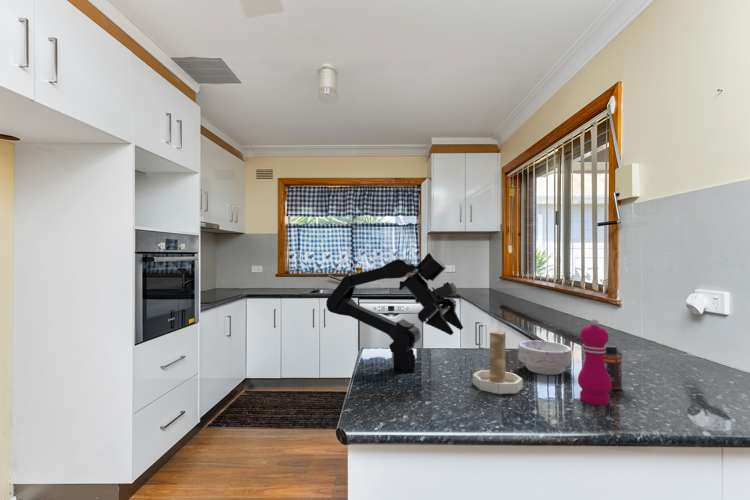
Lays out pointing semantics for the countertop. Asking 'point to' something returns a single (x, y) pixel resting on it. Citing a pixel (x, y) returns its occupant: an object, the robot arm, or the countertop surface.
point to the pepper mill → (594, 366)
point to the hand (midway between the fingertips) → (457, 331)
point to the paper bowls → (544, 356)
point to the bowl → (510, 386)
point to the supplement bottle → (613, 366)
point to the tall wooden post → (497, 357)
